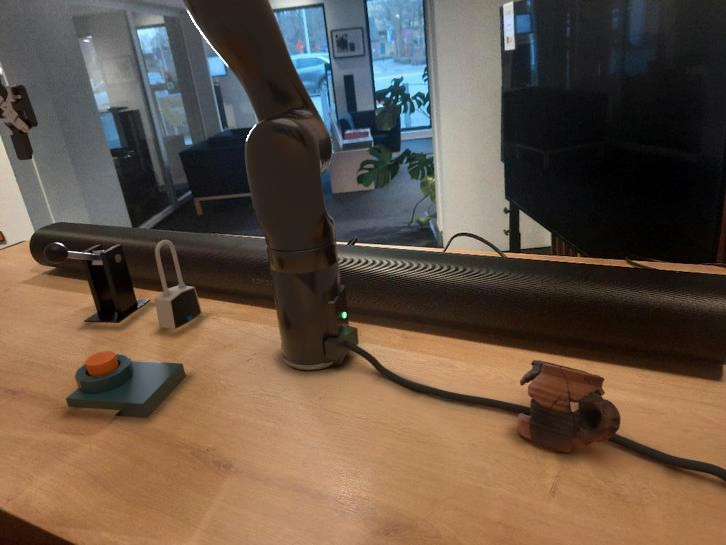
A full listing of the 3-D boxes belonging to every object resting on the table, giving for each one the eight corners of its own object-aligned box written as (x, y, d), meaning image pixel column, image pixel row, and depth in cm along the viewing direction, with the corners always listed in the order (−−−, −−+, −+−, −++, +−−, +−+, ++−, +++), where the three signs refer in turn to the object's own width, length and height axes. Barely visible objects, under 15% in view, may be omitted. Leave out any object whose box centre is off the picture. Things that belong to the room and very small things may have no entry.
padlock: (187, 314, 88) (168, 233, 82) (205, 317, 86) (187, 234, 80) (158, 331, 82) (136, 246, 77) (177, 335, 80) (156, 248, 75)
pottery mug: (491, 425, 55) (507, 352, 56) (551, 433, 59) (565, 365, 60) (581, 468, 44) (599, 377, 45) (647, 474, 48) (663, 391, 49)
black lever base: (120, 328, 84) (100, 257, 80) (85, 326, 86) (63, 257, 81) (151, 305, 93) (135, 240, 88) (119, 304, 94) (101, 240, 89)
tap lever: (55, 262, 73) (56, 241, 74) (37, 262, 74) (38, 241, 74) (116, 268, 86) (117, 250, 86) (101, 268, 87) (101, 250, 87)
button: (124, 362, 66) (121, 351, 65) (106, 377, 63) (102, 366, 62) (101, 361, 67) (97, 350, 66) (82, 376, 64) (78, 364, 63)
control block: (186, 376, 68) (179, 351, 67) (147, 418, 60) (139, 391, 59) (112, 372, 71) (104, 348, 69) (65, 412, 63) (55, 385, 61)
